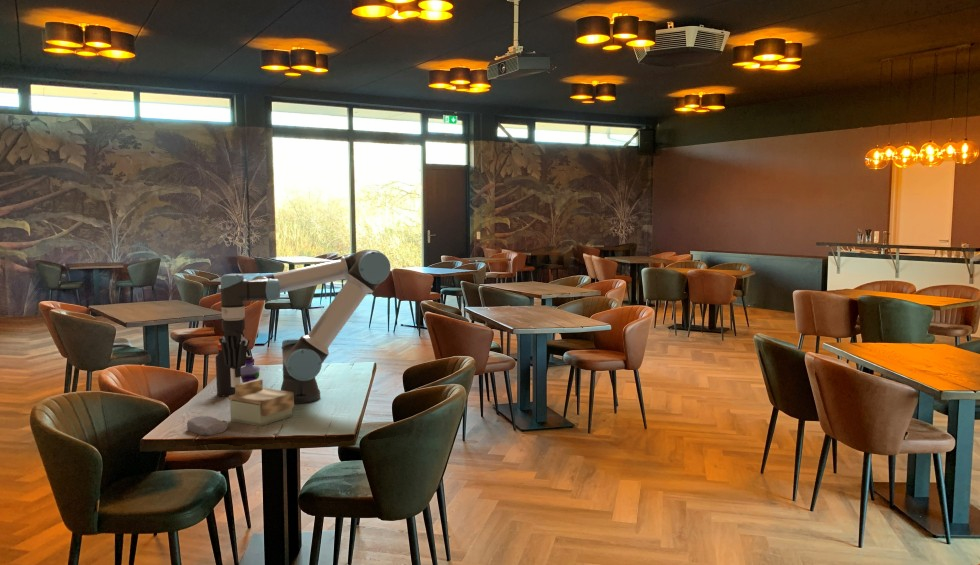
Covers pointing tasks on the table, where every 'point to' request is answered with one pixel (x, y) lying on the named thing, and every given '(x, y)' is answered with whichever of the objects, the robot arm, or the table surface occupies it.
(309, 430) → the table surface
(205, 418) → the stone block
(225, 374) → the vinegar
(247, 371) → the potion bottle
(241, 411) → the cream box
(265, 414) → the lid
